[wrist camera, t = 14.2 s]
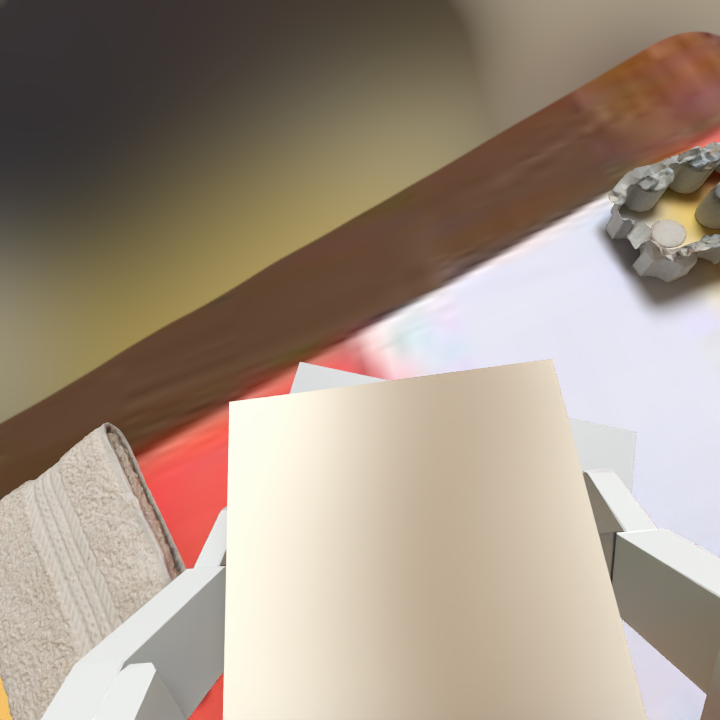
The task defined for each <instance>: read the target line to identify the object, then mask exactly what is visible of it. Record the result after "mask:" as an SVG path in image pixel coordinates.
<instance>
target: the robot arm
mask: <svg viewBox="0 0 720 720" xmlns="http://www.w3.org/2000/svg"><path fill="white" fill-rule="evenodd" d="M582 473H583V477H584V481H585V485H586V488H587V492H588V496H589V500H590V504H591V507H592V511H593V515H594V519H595V523H596V526H597V530H598V534H599V538H600V542H601V545H602V549H603V553H604V557H605V561H606V564H607V568H608V572H609V576H610V580H611V583H612V587H613V591H614V595H615V599H616V602H617V606H618V610H619V614H620V618H622V619H623V620H624V621H625V622H626V623H627V624H628V625H629V626H631V627H632V628H633V629H634V630H635V631H636V632H637V633H638V634H639V635H641V636H642V637H643V638H644V639H645V640H646V641H647V642H648V643H650V644H651V645H652V646H653V647H654V648H655V649H656V650H657V651H659V652H660V653H661V654H662V655H663V656H664V657H665V658H666V659H668V660H669V661H670V662H671V663H672V664H673V665H674V666H675V667H677V668H678V669H679V670H680V671H681V672H682V673H683V674H684V675H685V676H687V677H688V678H689V679H690V680H691V681H692V682H693V683H694V684H696V685H697V686H698V687H699V688H700V689H701V690H702V691H703V692H705V693H706V694H707V697H706V700H705V704H704V708H703V712H702V716H701V719H700V720H720V557H718V556H716V555H714V554H713V553H711V552H709V551H707V550H705V549H703V548H701V547H700V546H698V545H696V544H694V543H692V542H690V541H688V540H687V539H685V538H683V537H681V536H679V535H677V534H675V533H674V532H672V531H670V530H668V529H657V527H656V526H655V525H654V523H653V522H652V521H651V519H650V518H649V517H648V515H647V514H646V513H645V511H644V510H643V509H642V507H641V506H640V505H639V503H638V502H637V501H636V499H635V498H634V497H633V495H632V494H631V493H630V491H629V490H628V489H627V487H626V486H625V485H624V483H623V482H622V481H621V479H620V478H619V477H618V475H617V474H616V473H615V471H614V470H612V469H610V468H603V469H595V470H586V471H583V472H582ZM226 549H227V507H225V508H224V509H223V510H221V511H220V513H219V515H218V517H217V519H216V522H215V524H214V526H213V528H212V530H211V532H210V534H209V536H208V538H207V541H206V543H205V545H204V547H203V549H202V551H201V553H200V555H199V557H198V560H197V562H196V564H195V566H194V568H193V569H186V570H185V571H184V572H183V573H182V574H180V575H179V576H178V577H177V578H176V579H174V580H173V581H172V582H171V583H170V584H169V585H167V586H166V587H165V588H164V589H163V590H162V591H160V592H159V593H158V594H157V595H156V596H155V597H153V598H152V599H151V600H150V601H149V602H147V603H146V604H145V605H144V606H143V607H142V608H140V609H139V610H138V611H137V612H136V613H135V614H133V615H132V616H131V617H130V618H129V619H128V620H126V621H125V622H124V623H123V624H122V625H120V626H119V627H118V628H117V629H116V630H115V631H113V632H112V633H111V634H110V635H109V636H108V637H106V638H105V639H104V640H103V641H102V642H101V643H99V644H98V645H97V646H96V647H95V648H93V649H92V650H91V651H90V652H89V653H88V654H86V655H85V656H84V657H83V658H82V659H81V660H79V661H78V662H77V663H76V664H75V665H74V666H73V668H72V670H71V671H70V673H69V674H68V676H67V678H66V679H65V681H64V683H63V684H62V686H61V687H60V689H59V691H58V692H57V694H56V696H55V697H54V699H53V700H52V702H51V704H50V705H49V707H48V708H47V710H46V712H45V713H44V715H43V717H42V718H41V720H188V718H189V717H190V716H191V714H192V713H193V712H194V710H195V709H196V708H197V706H198V705H199V704H200V702H201V701H202V700H203V698H204V697H205V696H206V694H207V693H208V692H209V690H210V689H211V688H212V686H213V685H214V684H215V682H216V681H217V680H218V678H219V677H220V676H221V674H222V673H223V672H224V647H225V598H226Z"/></svg>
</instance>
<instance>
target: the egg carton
mask: <svg viewBox="0 0 720 720" xmlns="http://www.w3.org/2000/svg"><path fill="white" fill-rule="evenodd" d="M713 170H715V171H716V172H718V173H720V142H718V143H715V142H713V143H710V144H708V145H707V146H706V147H705V148H701V147H699V146H696V147H694V148H692V149H690V150H688V151H686V152H684V153H682V154H680V155H676V156H673V157H670V158H667V159H665V160H663V161H661V162H659V163H656V164H652V165H647V166H643V167H639V168H636V169H634V170H632V171H630V172H628V173H627V174H626V175H625V176H624V177H623V178H622V179H621V180H620V181H619V183H618V184H617V185H616V186H615V187H614V189H613V190H612V191H611V192H610V193H609V194H608V196H609V200H610V201H611V202H613V203H615V204H614V206H613V207H612V209H611V213H612V215H613V216H612V218H611V219H610V221H609V223H608V224H607V226H606V231H607V232H608V234H609V235H610V237H611V238H612V239H617V238H623V239H628V240H630V242H631V244H632V245H633V247H634V249H638V248H639V250H640V256H639V258H638V259H637V260H636V261H635V263H634V264H633V265H632V266H633V268H634V269H635V271H636V272H637V274H638V275H639V276H640V277H642V276H654V277H657V278H660V279H662V280H663V281H664V282H672V281H675V280H677V279H679V278H680V277H682V276H684V275H686V274H688V273H689V270H690V269H691V268H692V267H693V266H694V265H695V264H696V262H697V260H698V258H697V257H699V258H704V259H707V260H709V261H711V262H712V263H713V264H717V263H718V262H720V235H717V234H714V235H712V236H708V235H705V236H704V237H703V238H702V239H701V241H698V242H694V243H691V244H688V245H686V246H683V247H681V248H678V249H674V250H671V249H666V248H664V247H667V248H673V247H677V246H679V245H681V244H682V243H683V242H684V241H685V239H686V231H685V229H684V227H683V226H682V225H681V224H679V223H678V222H675V221H672V220H663V221H657V222H656V223H654V224H653V225H652V227H651V229H650V227H648V226H647V225H646V224H644V223H642V222H640V221H637V220H629V219H628V218H622V217H621V216H620V214H619V209H620V207H621V206H622V205H624V206H625V207H627V208H628V209H630V210H632V211H637V212H643V211H648V210H650V209H652V208H653V207H654V206H655V205H656V203H657V202H658V200H659V199H660V197H661V196H662V195H663V193H664V192H665V191H666V189H667V188H668V187H669V188H671V189H672V190H674V191H676V192H679V193H691V192H694V191H696V190H698V189H699V188H700V187H701V185H702V184H703V183H704V181H705V180H706V179H707V178H708V177H709V175H710V174H711V173H712V172H713ZM695 217H696V219H697V221H698V222H699V223H700V224H702V225H703V226H705V227H707V228H712V229H720V182H719V183H717V184H716V186H715V187H714V188H713V189H712V190H711V191H710V192H709V193H708V194H707V196H706V197H705V198H704V199H703V201H702V202H701V203H700V204H699V205H698V207H697V209H696V212H695Z"/></svg>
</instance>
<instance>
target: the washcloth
mask: <svg viewBox="0 0 720 720" xmlns="http://www.w3.org/2000/svg"><path fill="white" fill-rule="evenodd" d="M186 569H187V568H186V566H185V564H184V562H183V560H182V558H181V556H180V554H179V552H178V550H177V547H176V545H175V543H174V541H173V539H172V536H171V534H170V532H169V530H168V528H167V526H166V523H165V521H164V519H163V517H162V515H161V512H160V510H159V508H158V506H157V504H156V502H155V500H154V498H153V496H152V494H151V491H150V490H149V488H148V486H147V485H146V482H145V479H144V477H143V475H142V473H141V471H140V468H139V466H138V463H137V461H136V459H135V456H134V454H133V452H132V450H131V447H130V445H129V443H128V442H127V440H126V438H125V436H124V435H123V434H122V432H121V431H120V430H119V429H118V428H117V427H115V426H114V425H112V424H111V423H105V424H103V425H102V426H101V427H99V428H97V429H95V430H94V431H93V432H91V433H90V434H89V435H88V436H86V437H84V438H83V440H82V441H80V442H79V443H78V444H76V445H75V446H74V447H73V448H71V449H70V451H69V452H67V453H65V454H64V456H63V457H62V458H60V461H59V462H58V463H56V464H55V465H54V466H53V467H51V468H49V469H48V470H47V471H46V472H45V473H43V474H42V475H41V476H39V477H38V478H37V479H36V480H29V481H27V482H25V483H24V484H23V485H21V486H20V487H19V488H18V489H16V490H14V491H12V492H11V493H10V494H9V495H6V496H5V497H3V499H2V500H0V677H1V679H2V681H3V688H4V690H5V692H6V694H7V696H8V703H9V708H10V714H11V716H12V718H13V720H41V718H42V717H43V715H44V713H45V712H46V710H47V708H48V707H49V705H50V704H51V702H52V700H53V699H54V697H55V696H56V694H57V692H58V691H59V689H60V687H61V686H62V684H63V683H64V681H65V679H66V678H67V676H68V674H69V673H70V671H71V670H72V668H73V666H74V665H75V664H76V663H77V662H78V661H79V660H81V659H82V658H83V657H84V656H85V655H86V654H88V653H89V652H90V651H91V650H92V649H93V648H95V647H96V646H97V645H98V644H99V643H101V642H102V641H103V640H104V639H105V638H106V637H108V636H109V635H110V634H111V633H112V632H113V631H115V630H116V629H117V628H118V627H119V626H120V625H122V624H123V623H124V622H125V621H126V620H128V619H129V618H130V617H131V616H132V615H133V614H135V613H136V612H137V611H138V610H139V609H140V608H142V607H143V606H144V605H145V604H146V603H147V602H149V601H150V600H151V599H152V598H153V597H155V596H156V595H157V594H158V593H159V592H160V591H162V590H163V589H164V588H165V587H166V586H167V585H169V584H170V583H171V582H172V581H173V580H174V579H176V578H177V577H178V576H179V575H180V574H182V573H183V572H184V571H185V570H186Z"/></svg>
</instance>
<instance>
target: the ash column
mask: <svg viewBox="0 0 720 720" xmlns="http://www.w3.org/2000/svg"><path fill="white" fill-rule="evenodd" d="M223 720H647V717H646V713H645V709H644V705H643V701H642V698H641V694H640V690H639V686H638V682H637V678H636V675H635V671H634V667H633V663H632V659H631V656H630V652H629V648H628V644H627V640H626V637H625V633H624V629H623V625H622V621H621V618H620V614H619V610H618V606H617V602H616V599H615V595H614V591H613V587H612V583H611V580H610V576H609V572H608V568H607V564H606V561H605V557H604V553H603V549H602V545H601V542H600V538H599V534H598V530H597V526H596V523H595V519H594V515H593V511H592V507H591V504H590V500H589V496H588V492H587V488H586V485H585V481H584V477H583V473H582V469H581V466H580V462H579V458H578V454H577V450H576V447H575V443H574V439H573V435H572V431H571V427H570V424H569V420H568V416H567V412H566V408H565V405H564V401H563V397H562V393H561V389H560V386H559V382H558V378H557V374H556V370H555V367H554V363H553V359H548V360H541V361H533V362H526V363H518V364H511V365H503V366H496V367H488V368H481V369H473V370H466V371H458V372H451V373H443V374H436V375H428V376H421V377H413V378H406V379H398V380H391V381H384V382H376V383H369V384H361V385H354V386H346V387H339V388H331V389H324V390H316V391H309V392H301V393H294V394H286V395H279V396H271V397H264V398H256V399H249V400H241V401H234V402H229V451H228V500H227V549H226V598H225V647H224V697H223Z"/></svg>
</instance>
